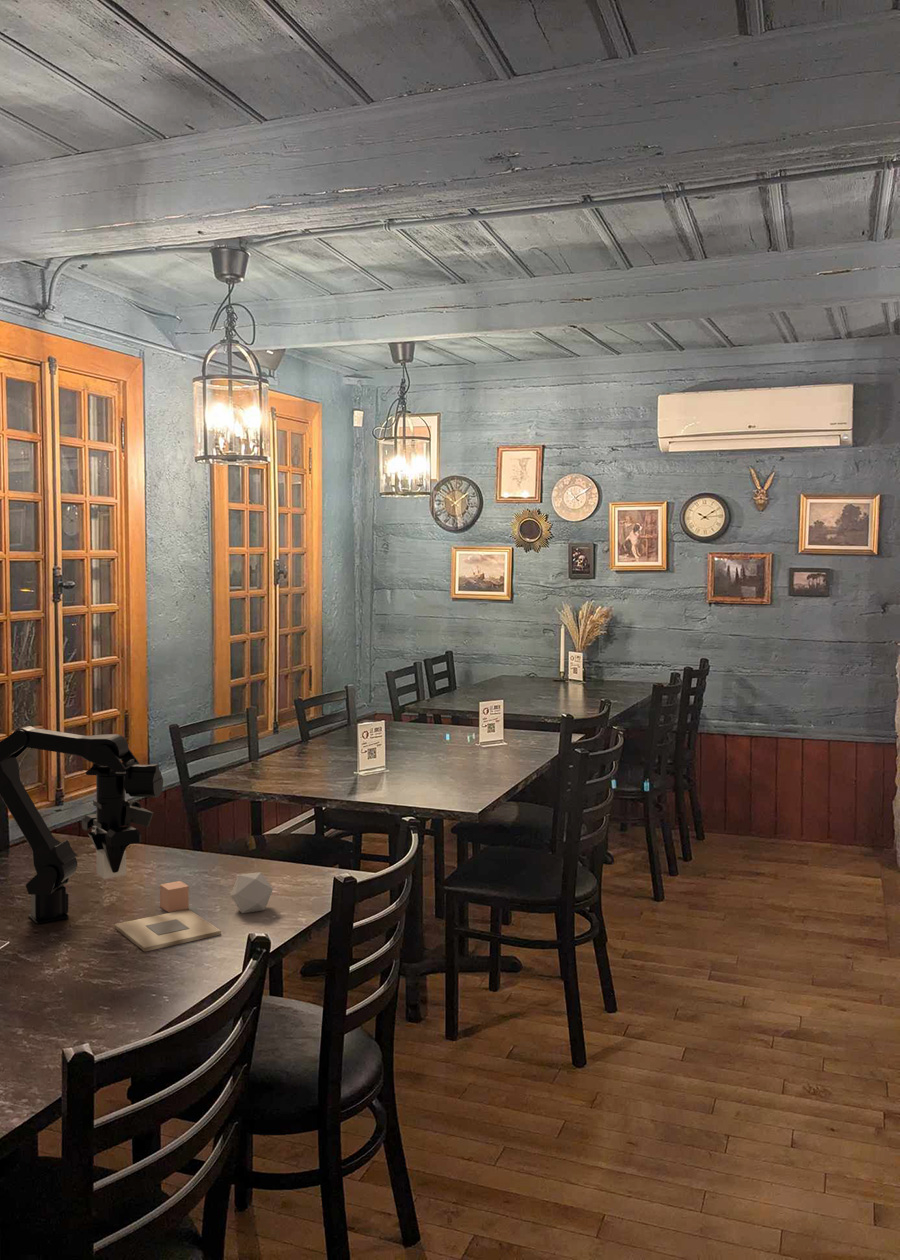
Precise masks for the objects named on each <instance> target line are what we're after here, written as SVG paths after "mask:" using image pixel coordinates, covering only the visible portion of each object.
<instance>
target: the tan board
mask: <svg viewBox="0 0 900 1260" xmlns="http://www.w3.org/2000/svg"><path fill="white" fill-rule="evenodd" d="M114 929H116V930H117V931H118V932H119V933H120V934H121V935H123V936H124V937H126V938H127V939H128V940H129V941H131V943H133V944H134V945H136V947H137V948H140V949H141V951H143V952H149V951H153V950H159V949H162V948H163V949H164V948H167V947H171V946H177V945H181V944H185V943H190V942H193V941H198V940H202V939H206V938H211V937H217V936H220V935H222V930H221V929H219V928H217V927H216V926H215V925H213V924H212V923H210V922H209V921H208V920H205V919H204V918H202V917H201V916H200V915H198V914H196V913H195V912H193V911H192V910H190V909H189V908H188V909H183V910H178V911H173V912H167V913H163V914H158V915H154V916H153V915H152V916H146V917H143V918H138V919H134V920H133V919H132V920H129V921H123V922H118V923H115V924H114Z"/></svg>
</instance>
